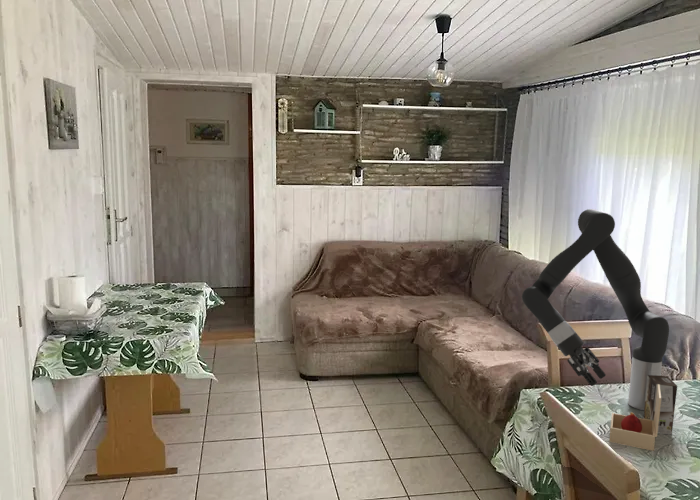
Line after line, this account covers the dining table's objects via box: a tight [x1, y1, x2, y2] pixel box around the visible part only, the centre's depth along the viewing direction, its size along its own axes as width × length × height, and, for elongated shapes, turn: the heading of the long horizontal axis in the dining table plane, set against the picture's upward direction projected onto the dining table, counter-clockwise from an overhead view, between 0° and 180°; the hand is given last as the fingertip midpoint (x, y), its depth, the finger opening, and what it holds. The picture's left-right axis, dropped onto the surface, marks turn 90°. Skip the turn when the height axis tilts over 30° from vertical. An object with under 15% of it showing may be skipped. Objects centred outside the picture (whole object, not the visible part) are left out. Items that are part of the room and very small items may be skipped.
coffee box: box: [642, 375, 678, 436], centre depth 185 cm, size 9×6×16 cm
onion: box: [621, 411, 642, 433], centre depth 178 cm, size 6×6×8 cm
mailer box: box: [609, 384, 661, 452], centre depth 177 cm, size 12×12×16 cm
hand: (599, 380), depth 183 cm, fingers open, 8 cm apart
